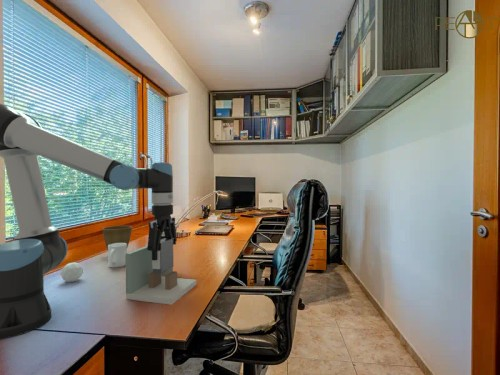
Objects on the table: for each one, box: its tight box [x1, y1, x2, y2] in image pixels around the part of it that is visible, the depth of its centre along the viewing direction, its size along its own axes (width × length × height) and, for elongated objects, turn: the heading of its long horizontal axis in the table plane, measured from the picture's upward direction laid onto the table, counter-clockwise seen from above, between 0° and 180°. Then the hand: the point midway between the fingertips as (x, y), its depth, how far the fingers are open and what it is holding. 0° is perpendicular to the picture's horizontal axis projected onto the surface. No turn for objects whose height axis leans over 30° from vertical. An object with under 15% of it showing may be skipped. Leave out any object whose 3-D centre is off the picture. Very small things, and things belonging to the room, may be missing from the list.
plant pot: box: [102, 225, 133, 251], centre depth 149 cm, size 15×15×16 cm
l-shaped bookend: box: [125, 245, 197, 306], centre depth 99 cm, size 18×18×16 cm
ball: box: [60, 261, 84, 283], centre depth 110 cm, size 8×8×8 cm
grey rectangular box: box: [153, 238, 174, 274], centre depth 99 cm, size 8×4×11 cm, turn 165°
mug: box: [107, 243, 128, 269], centre depth 129 cm, size 12×8×10 cm
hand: (163, 265), depth 99 cm, fingers closed on grey rectangular box, 8 cm apart
